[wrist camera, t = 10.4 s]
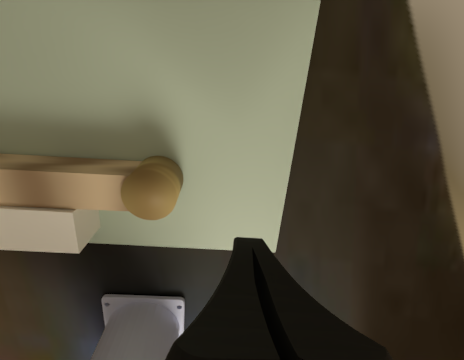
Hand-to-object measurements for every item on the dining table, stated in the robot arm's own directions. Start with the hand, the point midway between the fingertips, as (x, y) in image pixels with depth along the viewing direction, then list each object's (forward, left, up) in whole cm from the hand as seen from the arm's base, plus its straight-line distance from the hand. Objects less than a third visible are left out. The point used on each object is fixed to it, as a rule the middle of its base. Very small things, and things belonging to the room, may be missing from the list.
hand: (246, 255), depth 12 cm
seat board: (+3, +8, -10) cm, 13 cm away
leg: (0, +12, -9) cm, 15 cm away
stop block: (-3, +15, -10) cm, 18 cm away
